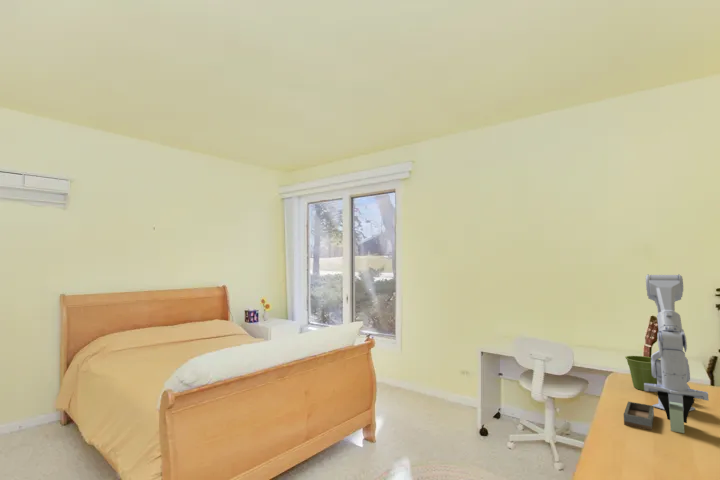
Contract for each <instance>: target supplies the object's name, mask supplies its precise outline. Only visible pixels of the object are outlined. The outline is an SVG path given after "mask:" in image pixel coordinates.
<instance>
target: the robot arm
mask: <svg viewBox="0 0 720 480" xmlns="http://www.w3.org/2000/svg"><path fill="white" fill-rule="evenodd" d="M683 280H684V279H683V276H682V274H679V273H678V274H646V275H645V288H646V289H645V290H646V296H647V297H648V299H649V300H651V301H654V303H655V306H656V309H657V315H656V319H657V320H656V321H657V328H658V332H657V335H656V336H657V346H658V350H657V351H655V352H653V353H652V354H651V355H650V357H651V368H652V376H653V377H654V378H657V384H649V383H644V392H654V393H657V398H658V399H657V400H658V402H657V403H655V404H652V406H653V407H654V408H658V409H660V410H664V412H665V414H666V417H667V418H666V420H668V421H670V411H669V406H670V402H675V403H682V404H683V419H684V424H687V423H688V417H689V413H690V412H691V411H695V410H696V407H694V406H693V405H694V403H695V399H699V400H703V401H708V402H709V398H710V397H709V392H708V391H703V390H699V389H698V390H697V389H694V388H693V389H692V388H690V386H689V384H688V383H689V382H690V381H691V371H690V364H689V360H688V358H687V357H686V353H687V349H688V348H687V347H688V344H687V343H688V342H687V337H686V336H687V335H686V334H685V331H684V329H683V326H682V320H681V315H680V314H679V313H678V312H676V311H675V309H676V308H675V303H676V302H678V301H680V300H682V298H683V293H684V281H683ZM658 359H659V360H658Z"/></svg>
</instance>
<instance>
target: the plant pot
mask: <svg viewBox="0 0 720 480" xmlns="http://www.w3.org/2000/svg"><path fill="white" fill-rule="evenodd" d="M624 358H625V360H626V361H627V365H628V368H629V373H630V377H631V380H632V381H631V382H632V385H633V387H634V388H635V389H637V390H640V391H644V383H649V384H657V378H654V377H653V376H652V368H651V356H643V355H626V356H624ZM658 360H660V359H658ZM644 392H645V391H644Z"/></svg>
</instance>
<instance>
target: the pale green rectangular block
mask: <svg viewBox="0 0 720 480" xmlns="http://www.w3.org/2000/svg"><path fill="white" fill-rule="evenodd" d="M669 411H670V420H669V423H670V431H671V432H676V433H681V434H685V423H684V419H683V404H682V403H675V402H670V406H669Z"/></svg>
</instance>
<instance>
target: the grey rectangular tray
mask: <svg viewBox="0 0 720 480" xmlns="http://www.w3.org/2000/svg"><path fill="white" fill-rule="evenodd" d="M654 409H655V407H653V405H651V404H646V403H645V404H644V403H638V402H633V401H627V404H626V406H625V409H624V412H623V425H624V426H628V427H633V428H634V427H635V428H638V429H643V428H644V430H649V431H653V427H654V426H653V424H654V419H655V418H654V417H655V414H654V413H655V411H654Z"/></svg>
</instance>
